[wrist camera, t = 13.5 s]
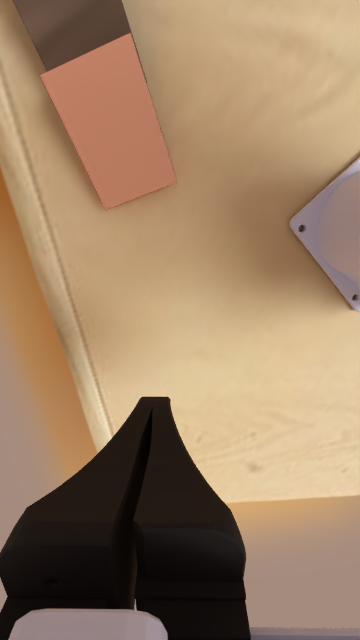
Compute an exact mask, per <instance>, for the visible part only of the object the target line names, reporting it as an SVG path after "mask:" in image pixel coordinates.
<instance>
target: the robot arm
mask: <svg viewBox="0 0 360 640" xmlns="http://www.w3.org/2000/svg"><path fill="white" fill-rule="evenodd" d="M301 225H303V226H304V230H303V231H302V232H300V231H299V227H300V226H301ZM289 226H290V228H291V229H292V231H293V232H294V233H295V234H296V236H297V237H298V238H299V240H300V241H301V242H302V243H303V245H304V246H305V247H306V248H307V250H308V251H309V252H310V254H311V255H312V256H313V257H314V259H315V260H316V261H317V263H318V264H319V265H320V266H321V268H322V269H323V270H324V271H325V273H326V274H327V275H328V277H329V278H330V279H331V280H332V282H333V283H334V284H335V286H336V287H337V288H338V289H339V291H340V292H341V293H342V294H343V296H344V297H345V298H346V300H347V301H348V302H349V303H350V305H351V306H352V307H353V309H354V310H356V311H357V312H360V157H359V158H358V159H357V160H356V161H354V162H353V163H352V164H351V165H350V166H349V167H348V168H347V169H346V170H344V171H343V172H342V173H341V174H340V175H339V176H338V177H337V178H336V179H334V180H333V181H332V182H331V183H330V184H329V185H328V186H327V187H326V188H325V189H323V190H322V191H321V192H320V193H319V194H318V195H317V196H316V197H315V198H313V199H312V200H311V201H310V202H309V203H308V204H307V205H306V206H305V207H303V208H302V209H301V210H300V211H299V212H298V213H297V214H296V215H295V216H293V217H292V219H291V220H290V222H289ZM355 294H356V297H355V299H352V297H353V296H354V295H355ZM245 562H246V552H245V547H244V543H243V540H242V537H241V534H240V531H239V529H238V526H237V523H236V521H235V519H234V516H233V514H232V512H231V510H230V509H229V508H228V506H227V505H226V504H225V503H224V502H223V501H222V500H221V499H220V498H219V496H218V495H217V494H216V493H215V492H214V490H213V489H212V488H211V487H210V485H209V484H208V483H207V481H206V480H205V478H204V477H203V476H202V474H201V473H200V471H199V470H198V468H197V467H196V465H195V464H194V462H193V460H192V459H191V457H190V455H189V453H188V451H187V450H186V448H185V446H184V444H183V441H182V439H181V437H180V435H179V432H178V430H177V427H176V424H175V421H174V418H173V415H172V411H171V406H170V398H169V397H142V398H140V400H139V402H138V403H137V405H136V407H135V408H134V410H133V411H132V413H131V414H130V416H129V417H128V418H127V420H126V421H125V423H124V424H123V425H122V427H121V428H120V429H119V430H118V432H117V433H116V434H115V435H114V436H113V438H112V439H111V440H110V441H109V442H108V443H107V445H106V446H105V447H104V448H103V449H102V450H101V451H100V452H99V453H98V454H97V455H96V456H95V457H94V458H93V459H92V460H91V461H90V462H89V463H87V465H85V466H84V467H83V468H82V469H81V470H80V471H79V472H78V473H76V474H75V475H73V476H72V477H71V478H70V479H68V480H67V481H66V482H64V483H63V484H62V485H61V486H59V487H58V488H56V489H55V490H53V491H52V492H51V493H49V494H47V495H46V496H44V497H43V498H41V499H40V500H38V501H37V502H35V503H34V504H32V505H30V506H29V507H27V508H26V510H25V511H24V513H23V514H22V516H21V517H20V519H19V520H18V522H17V523H16V525H15V527H14V528H13V530H12V532H11V534H10V536H9V538H8V539H7V541H6V543H5V545H4V547H3V549H2V550H1V552H0V578H1V581H2V583H3V586H4V588H5V591H6V593H7V596H8V597H7V600H6V602H5V604H4V606H3V608H2V610H1V612H0V640H360V629H358V628H274V627H271V628H270V627H249V622H248V616H247V610H246V604H245V600H246V593H245V587H244V581H243V577H244V570H245ZM135 599H136V608H137V611H135V610H134V604H135Z"/></svg>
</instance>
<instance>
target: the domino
mask: <svg viewBox="0 0 360 640" xmlns="http://www.w3.org/2000/svg"><path fill="white" fill-rule="evenodd" d="M13 2H14V4H15V6H16V8H17V10H18V12H19V14H20V16H21V18H22V20H23V23H24V25H25V27H26V29H27V31H28V33H29V35H30V37H31V39H32V41H33V43H34V45H35V48H36V50H37V52H38V54H39V56H40V58H41V60H42V62H43V64H44V66H45V68H46V71H47V72H48V71H50V70H52V69H54V68H56V67H59V66H61V65H63V64H65V63H67V62H69V61H71V60H73V59H76V58H78V57H80V56H82V55H84V54H86V53H88V52H90V51H93V50H95V49H97V48H99V47H101V46H103V45H105V44H107V43H110V42H112V41H114V40H116V39H118V38H120V37H122V36H124V35H127V34H129V33H131V30H130V27H129V23H128V20H127V17H126V14H125V10H124V7H123V4H122V1H121V0H13ZM131 36H132V33H131ZM132 39H133V36H132ZM133 42H134V39H133ZM134 45H135V43H134ZM135 48H136V46H135ZM136 52H137V49H136ZM137 55H138V52H137ZM138 58H139V56H138ZM139 61H140V59H139ZM140 64H141V62H140ZM141 68H142V65H141ZM142 71H143V69H142ZM143 74H144V72H143ZM144 77H145V75H144ZM145 81H146V78H145ZM146 84H147V81H146Z"/></svg>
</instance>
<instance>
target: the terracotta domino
mask: <svg viewBox="0 0 360 640" xmlns="http://www.w3.org/2000/svg"><path fill="white" fill-rule="evenodd" d="M40 77H41V79H42V81H43V83H44V85H45V87H46V89H47V91H48V93H49V95H50V97H51V99H52V101H53V103H54V105H55V107H56V109H57V111H58V113H59V115H60V117H61V119H62V122H63V124H64V126H65V128H66V130H67V132H68V134H69V136H70V138H71V140H72V142H73V144H74V146H75V148H76V150H77V152H78V154H79V156H80V158H81V160H82V162H83V164H84V166H85V168H86V170H87V173H88V175H89V177H90V179H91V181H92V183H93V185H94V187H95V189H96V191H97V193H98V195H99V197H100V199H101V201H102V203H103V205H104V207H105V209H106V210H107V209H109V208H112V207H114V206H117V205H119V204H122V203H124V202H127V201H130V200H132V199H135V198H137V197H140V196H142V195H145V194H148V193H150V192H153V191H155V190H158V189H160V188H163V187H165V186H168V185H171V184H173V183H176V182H177V180H176V177H175V174H174V171H173V167H172V164H171V161H170V158H169V154H168V151H167V148H166V145H165V142H164V138H163V135H162V132H161V129H160V126H159V122H158V119H157V116H156V113H155V109H154V106H153V103H152V100H151V97H150V93H149V90H148V87H147V84H146V81H145V77H144V74H143V71H142V68H141V64H140V61H139V58H138V55H137V52H136V48H135V45H134V42H133V39H132V36H131V33H129V34H127V35H124V36H122V37H120V38H118V39H116V40H114V41H112V42H110V43H107V44H105V45H103V46H101V47H99V48H97V49H95V50H93V51H90V52H88V53H86V54H84V55H82V56H80V57H78V58H76V59H73V60H71V61H69V62H67V63H65V64H63V65H61V66H59V67H56V68H54V69H52V70H50V71H48V72H46V73H44V74H42V75H40Z"/></svg>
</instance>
